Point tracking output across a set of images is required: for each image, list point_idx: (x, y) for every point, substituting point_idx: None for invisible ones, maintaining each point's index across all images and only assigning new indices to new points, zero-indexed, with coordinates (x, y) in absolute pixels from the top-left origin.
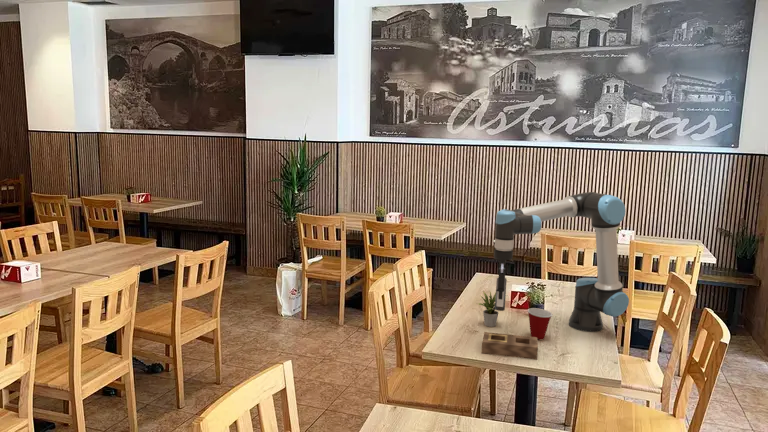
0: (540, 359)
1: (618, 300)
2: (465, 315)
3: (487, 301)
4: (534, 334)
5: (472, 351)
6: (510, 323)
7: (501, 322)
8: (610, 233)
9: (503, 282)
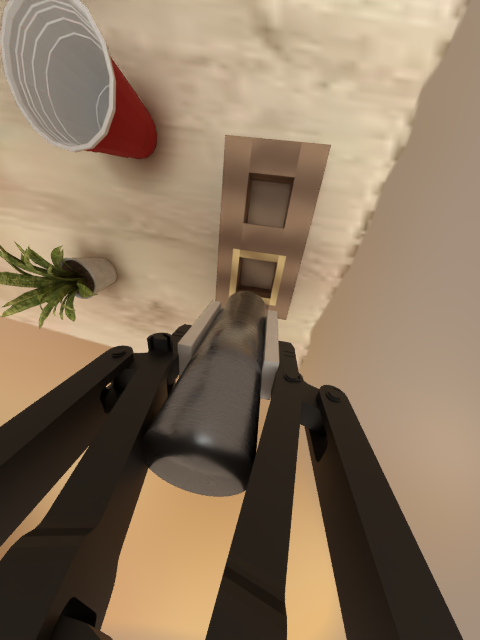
0: None
1: None
2: (75, 317)
3: (57, 302)
4: (148, 143)
5: None
6: (67, 215)
7: (73, 240)
8: None
9: (385, 496)
